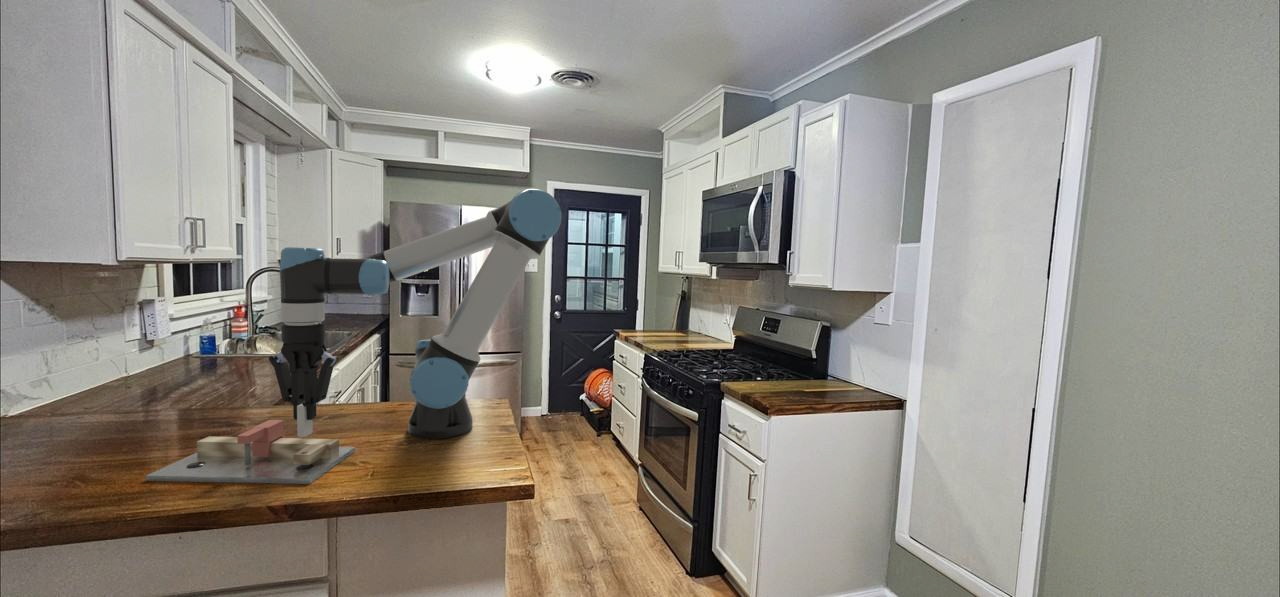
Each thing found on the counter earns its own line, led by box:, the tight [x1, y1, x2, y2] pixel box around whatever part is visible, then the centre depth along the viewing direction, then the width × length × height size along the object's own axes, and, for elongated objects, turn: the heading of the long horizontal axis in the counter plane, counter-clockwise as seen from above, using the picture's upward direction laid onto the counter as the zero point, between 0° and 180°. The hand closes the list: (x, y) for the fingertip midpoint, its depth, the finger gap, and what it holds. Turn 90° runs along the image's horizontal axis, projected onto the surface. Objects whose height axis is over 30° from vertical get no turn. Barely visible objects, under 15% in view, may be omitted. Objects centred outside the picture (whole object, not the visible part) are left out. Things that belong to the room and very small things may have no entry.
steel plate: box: [145, 446, 356, 485], centre depth 102 cm, size 30×16×1 cm, turn 92°
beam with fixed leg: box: [196, 435, 340, 468], centre depth 103 cm, size 27×8×3 cm, turn 92°
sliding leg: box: [236, 419, 286, 465], centre depth 103 cm, size 3×10×6 cm, turn 2°
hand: (305, 434), depth 105 cm, fingers closed
